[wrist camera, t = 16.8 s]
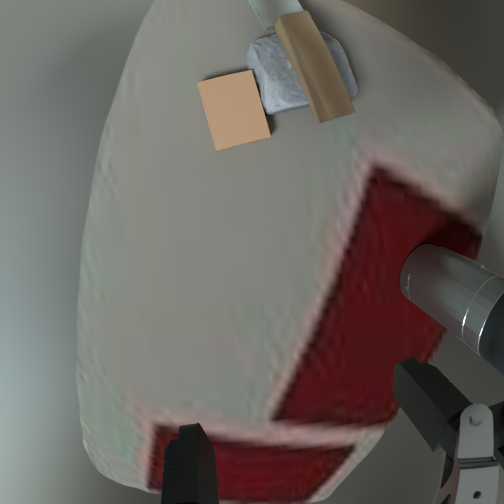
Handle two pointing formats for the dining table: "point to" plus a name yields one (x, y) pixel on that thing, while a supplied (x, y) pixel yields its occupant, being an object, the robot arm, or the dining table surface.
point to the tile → (233, 110)
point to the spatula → (306, 56)
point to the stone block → (288, 74)
